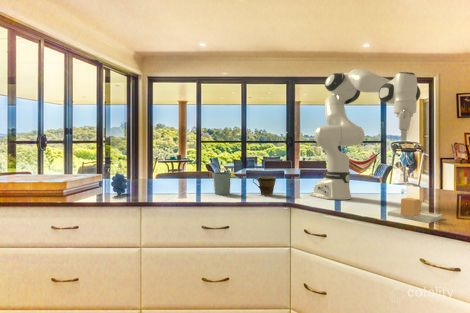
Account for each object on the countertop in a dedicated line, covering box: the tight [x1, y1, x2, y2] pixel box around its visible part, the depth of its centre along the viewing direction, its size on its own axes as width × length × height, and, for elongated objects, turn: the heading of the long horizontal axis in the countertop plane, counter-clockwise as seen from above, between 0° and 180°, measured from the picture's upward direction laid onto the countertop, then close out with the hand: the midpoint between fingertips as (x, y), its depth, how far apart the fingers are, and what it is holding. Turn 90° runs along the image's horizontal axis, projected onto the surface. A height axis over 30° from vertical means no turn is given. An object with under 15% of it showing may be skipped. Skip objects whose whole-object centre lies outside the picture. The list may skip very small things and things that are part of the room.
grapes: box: [110, 172, 128, 196], centre depth 174 cm, size 12×7×12 cm, turn 157°
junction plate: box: [387, 200, 443, 224], centre depth 129 cm, size 16×12×6 cm
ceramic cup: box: [252, 175, 277, 197], centre depth 178 cm, size 13×10×10 cm
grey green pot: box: [212, 171, 232, 196], centre depth 180 cm, size 10×10×12 cm
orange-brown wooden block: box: [400, 197, 421, 217], centre depth 126 cm, size 5×5×6 cm
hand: (403, 140), depth 140 cm, fingers open, 8 cm apart
